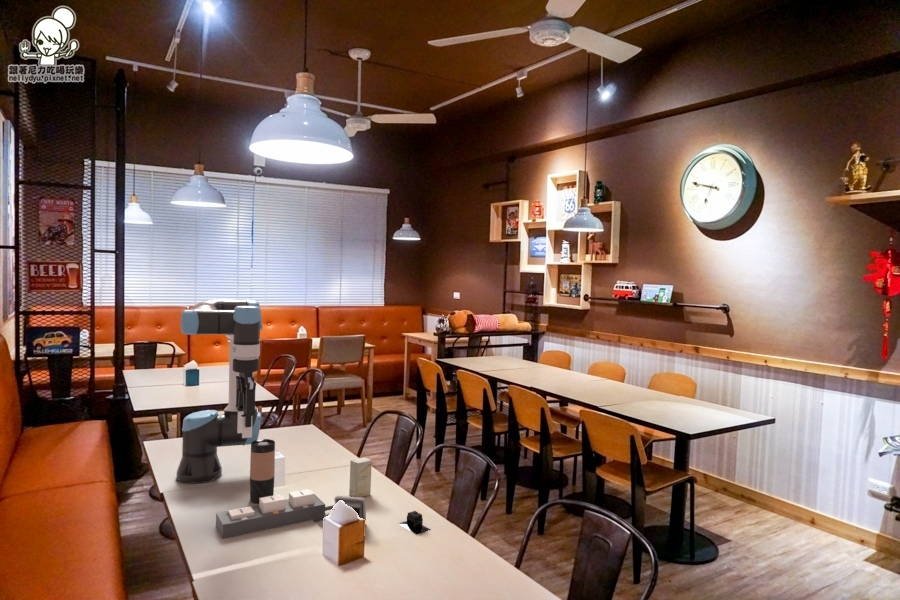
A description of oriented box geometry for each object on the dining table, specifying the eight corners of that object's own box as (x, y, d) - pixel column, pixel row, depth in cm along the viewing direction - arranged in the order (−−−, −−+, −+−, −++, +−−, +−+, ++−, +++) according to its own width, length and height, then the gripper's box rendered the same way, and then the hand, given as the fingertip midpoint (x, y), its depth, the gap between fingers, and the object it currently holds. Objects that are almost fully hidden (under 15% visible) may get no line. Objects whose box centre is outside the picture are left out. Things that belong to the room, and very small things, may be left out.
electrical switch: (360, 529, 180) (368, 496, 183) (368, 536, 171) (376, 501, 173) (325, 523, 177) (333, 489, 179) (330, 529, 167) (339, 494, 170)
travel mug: (266, 508, 185) (267, 446, 184) (244, 505, 187) (246, 444, 186) (278, 499, 193) (279, 440, 192) (257, 496, 194) (258, 437, 193)
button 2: (259, 514, 174) (259, 497, 174) (280, 510, 177) (280, 493, 177) (263, 519, 170) (263, 502, 170) (284, 515, 174) (285, 498, 173)
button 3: (288, 508, 179) (289, 492, 179) (308, 504, 182) (309, 488, 182) (293, 513, 175) (293, 497, 175) (313, 509, 179) (314, 493, 178)
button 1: (227, 527, 169) (228, 510, 169) (250, 522, 172) (250, 505, 172) (231, 533, 165) (231, 515, 165) (254, 528, 169) (254, 511, 169)
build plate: (436, 532, 174) (436, 517, 174) (417, 539, 169) (417, 524, 169) (411, 518, 183) (411, 504, 183) (392, 524, 179) (392, 509, 178)
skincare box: (356, 498, 196) (357, 463, 195) (348, 494, 199) (349, 460, 198) (371, 494, 200) (372, 459, 200) (363, 490, 203) (364, 456, 203)
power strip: (215, 529, 169) (216, 512, 169) (330, 506, 189) (331, 490, 189) (222, 542, 162) (223, 523, 162) (341, 516, 181) (342, 500, 181)
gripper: (226, 354, 178) (224, 428, 179) (240, 363, 163) (239, 444, 164) (251, 353, 182) (249, 426, 183) (267, 361, 167) (265, 441, 168)
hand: (244, 434), depth 174 cm, fingers open, 5 cm apart
